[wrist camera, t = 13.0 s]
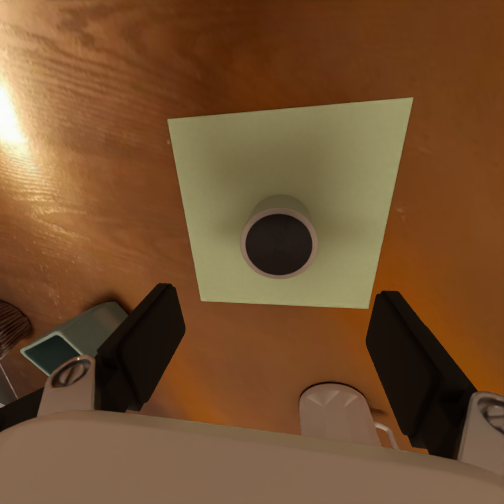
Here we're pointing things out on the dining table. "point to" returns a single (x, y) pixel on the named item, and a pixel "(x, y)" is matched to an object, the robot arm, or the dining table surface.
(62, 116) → the dining table surface
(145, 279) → the dining table surface
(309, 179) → the trivet mat
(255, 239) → the steel pot
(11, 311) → the cupcake
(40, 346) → the flower pot
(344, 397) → the mug
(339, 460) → the robot arm
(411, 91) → the dining table surface
